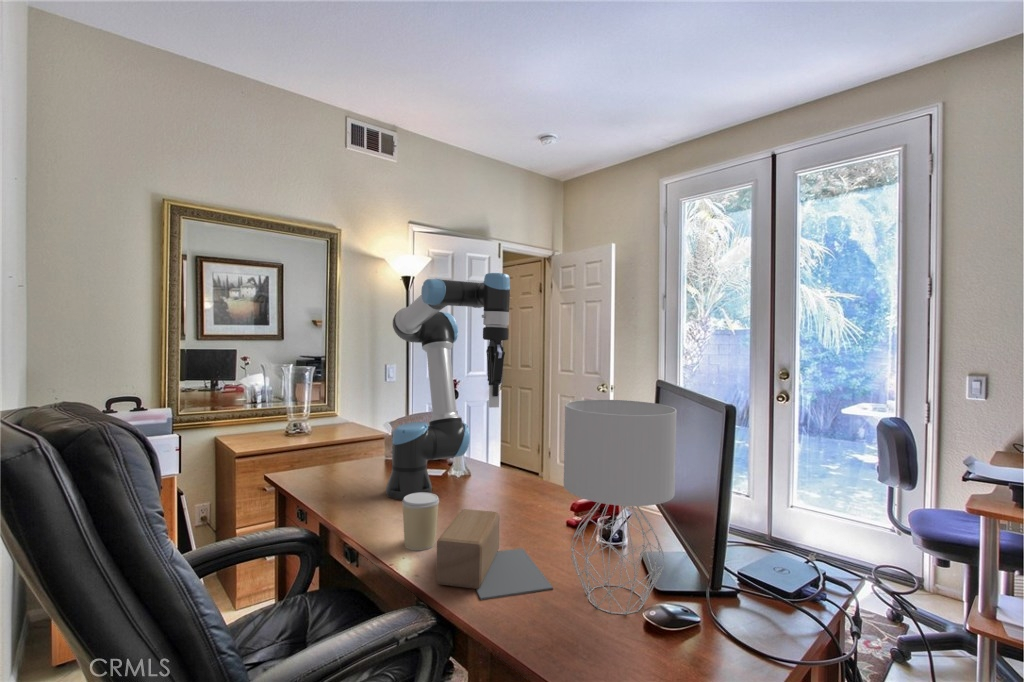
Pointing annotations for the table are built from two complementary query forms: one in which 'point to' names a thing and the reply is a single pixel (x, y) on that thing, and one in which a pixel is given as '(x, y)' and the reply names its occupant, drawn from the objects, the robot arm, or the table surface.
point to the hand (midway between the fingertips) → (493, 406)
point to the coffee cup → (420, 520)
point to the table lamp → (619, 469)
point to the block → (467, 548)
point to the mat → (512, 576)
